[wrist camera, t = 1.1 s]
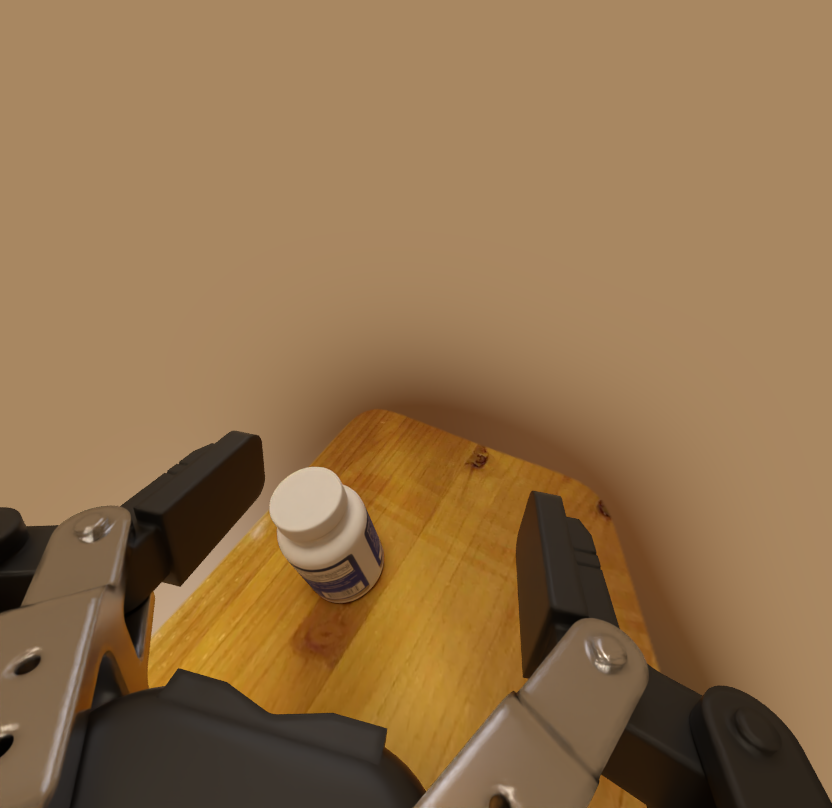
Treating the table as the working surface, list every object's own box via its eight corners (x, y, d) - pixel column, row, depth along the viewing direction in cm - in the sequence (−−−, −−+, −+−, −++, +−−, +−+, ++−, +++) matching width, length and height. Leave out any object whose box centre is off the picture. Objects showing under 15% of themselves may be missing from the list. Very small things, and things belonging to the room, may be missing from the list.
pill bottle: (337, 519, 29) (298, 445, 23) (397, 544, 27) (372, 471, 21) (294, 585, 26) (235, 520, 20) (358, 620, 24) (315, 559, 18)
